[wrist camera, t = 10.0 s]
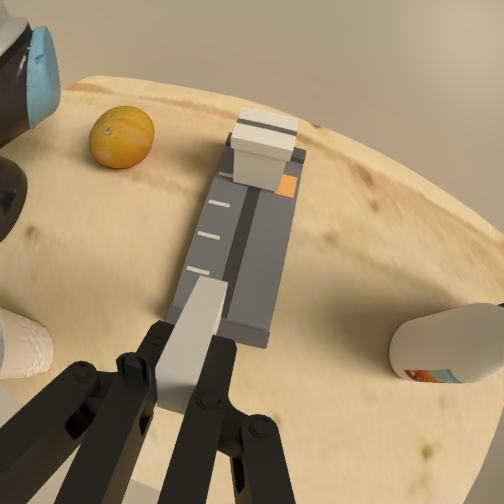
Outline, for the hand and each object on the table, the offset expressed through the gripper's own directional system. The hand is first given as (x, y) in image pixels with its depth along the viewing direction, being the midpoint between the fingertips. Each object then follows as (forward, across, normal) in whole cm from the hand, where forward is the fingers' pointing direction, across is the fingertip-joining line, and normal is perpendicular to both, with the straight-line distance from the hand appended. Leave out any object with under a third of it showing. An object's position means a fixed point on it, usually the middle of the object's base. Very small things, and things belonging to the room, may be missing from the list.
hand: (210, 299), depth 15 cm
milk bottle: (+11, +24, -10) cm, 28 cm away
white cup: (+3, -22, -18) cm, 28 cm away
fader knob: (+21, 0, +3) cm, 22 cm away
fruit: (+24, -18, +2) cm, 30 cm away
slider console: (+18, 0, -3) cm, 18 cm away
